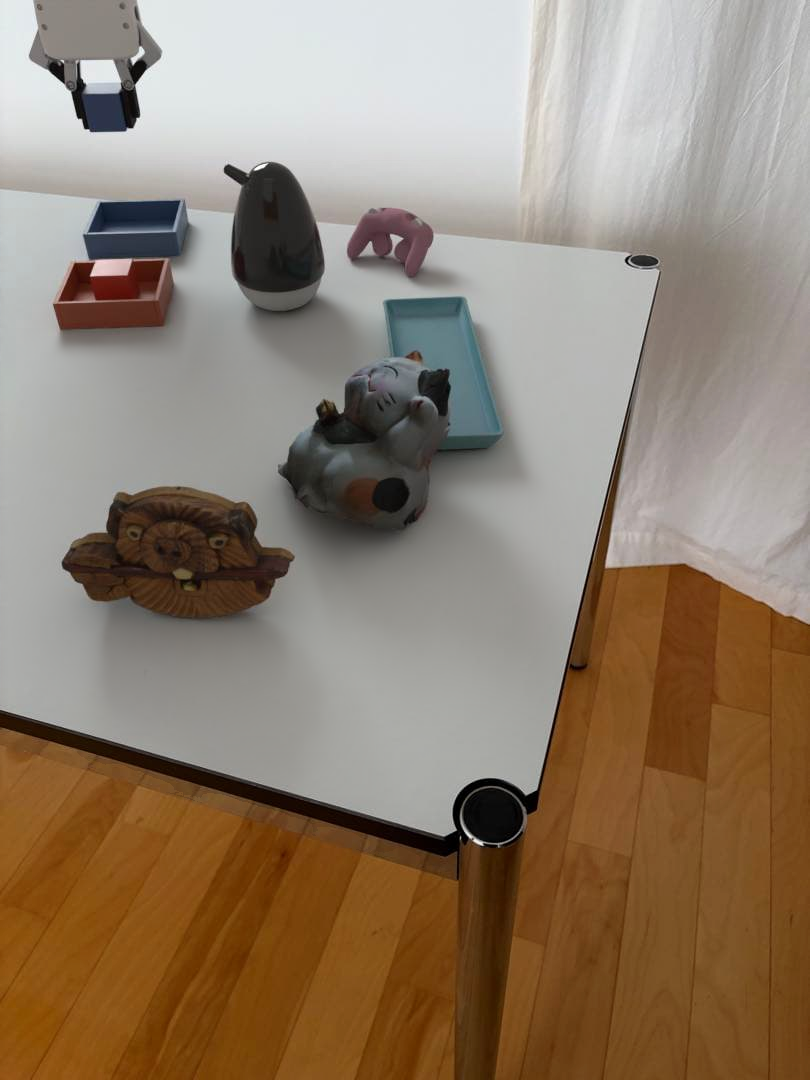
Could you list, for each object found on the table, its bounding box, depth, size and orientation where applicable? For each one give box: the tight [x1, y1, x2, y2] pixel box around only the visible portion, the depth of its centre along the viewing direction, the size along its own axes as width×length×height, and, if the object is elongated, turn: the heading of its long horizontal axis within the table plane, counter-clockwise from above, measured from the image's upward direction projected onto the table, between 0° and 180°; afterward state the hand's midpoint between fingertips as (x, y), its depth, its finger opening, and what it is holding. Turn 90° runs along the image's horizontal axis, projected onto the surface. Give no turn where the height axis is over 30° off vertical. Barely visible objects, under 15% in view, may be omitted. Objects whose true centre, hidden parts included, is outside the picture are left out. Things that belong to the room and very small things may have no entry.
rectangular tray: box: [382, 295, 505, 451], centre depth 89 cm, size 26×9×2 cm, turn 5°
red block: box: [90, 258, 140, 301], centre depth 99 cm, size 4×4×4 cm
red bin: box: [52, 258, 174, 330], centre depth 99 cm, size 11×10×3 cm
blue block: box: [82, 82, 128, 133], centre depth 100 cm, size 4×4×4 cm
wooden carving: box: [61, 485, 296, 619], centre depth 64 cm, size 16×5×10 cm, turn 90°
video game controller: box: [346, 207, 435, 277], centre depth 107 cm, size 10×5×7 cm, turn 58°
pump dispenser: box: [223, 161, 326, 312], centre depth 96 cm, size 10×10×15 cm
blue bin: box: [82, 198, 189, 259], centre depth 112 cm, size 11×10×3 cm
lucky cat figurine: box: [277, 350, 451, 530], centre depth 73 cm, size 15×12×14 cm
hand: (110, 123), depth 101 cm, fingers closed on blue block, 4 cm apart
